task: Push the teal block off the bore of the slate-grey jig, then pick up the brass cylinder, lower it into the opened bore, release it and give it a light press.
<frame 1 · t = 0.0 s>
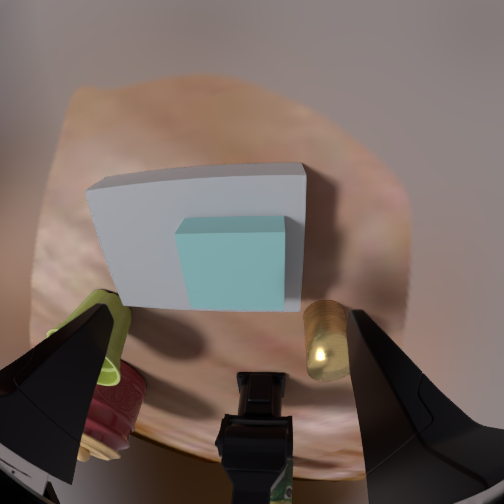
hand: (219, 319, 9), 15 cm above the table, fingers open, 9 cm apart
canister: (114, 372, 40), on the table
brass cylinder: (323, 315, 29), on the table
coffee jar: (276, 457, 59), on the table
teal block: (234, 264, 20), point 5 cm above the table, slide at 0.0 cm
jig: (241, 232, 24), on the table
plant pot: (112, 306, 31), on the table
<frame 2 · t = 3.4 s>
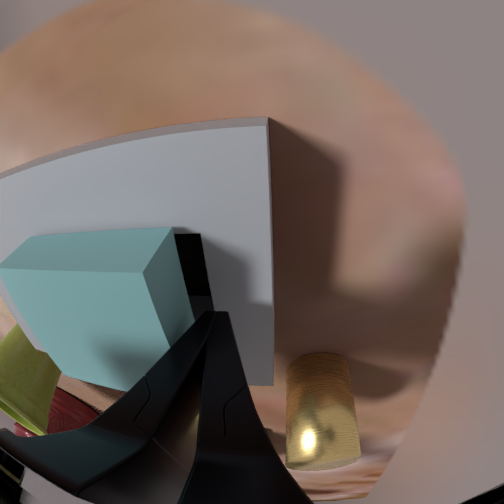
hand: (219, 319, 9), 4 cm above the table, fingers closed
canister: (71, 404, 29), on the table
brass cylinder: (317, 371, 18), on the table
teal block: (100, 320, 9), point 5 cm above the table, slide at 1.5 cm, touching gripper
jig: (170, 251, 13), on the table
plant pot: (43, 340, 20), on the table
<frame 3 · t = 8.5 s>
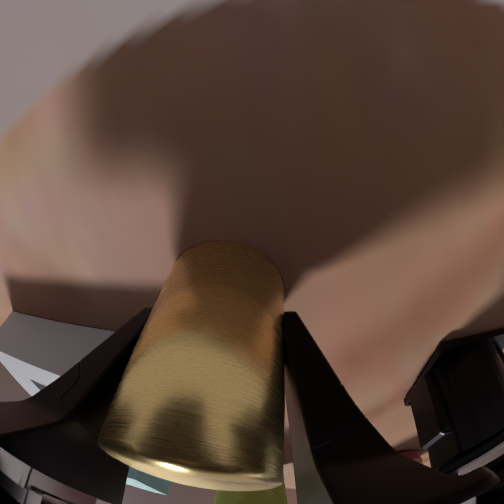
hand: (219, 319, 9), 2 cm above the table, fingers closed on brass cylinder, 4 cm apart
brass cylinder: (225, 290, 11), on the table, touching gripper
teal block: (121, 466, 15), point 5 cm above the table, slide at 7.4 cm
jig: (98, 373, 16), on the table
plant pot: (254, 460, 24), on the table
when the fingers open (4 cm above the table, at t = 12.6 s): brass cylinder drops 3 cm, resting in jig.
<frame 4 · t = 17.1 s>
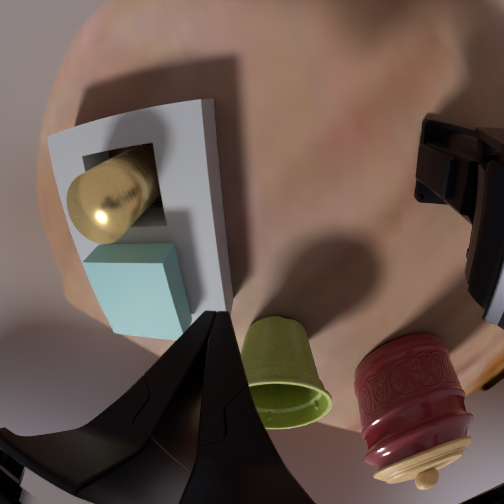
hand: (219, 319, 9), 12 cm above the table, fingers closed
canister: (399, 362, 30), on the table
brass cylinder: (143, 172, 20), resting in jig
teal block: (139, 293, 19), point 5 cm above the table, slide at 7.4 cm
jig: (143, 174, 20), on the table
plant pot: (277, 333, 28), on the table
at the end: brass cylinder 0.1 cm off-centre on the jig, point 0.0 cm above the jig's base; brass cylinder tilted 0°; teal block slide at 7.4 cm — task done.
